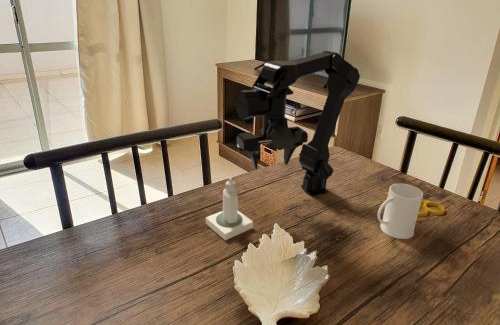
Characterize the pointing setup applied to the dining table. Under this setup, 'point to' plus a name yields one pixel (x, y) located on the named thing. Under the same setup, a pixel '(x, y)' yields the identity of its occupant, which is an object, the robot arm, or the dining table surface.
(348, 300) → the dining table surface
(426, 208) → the yellow scissors
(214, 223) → the plinth
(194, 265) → the dining table surface
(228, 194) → the eye dropper bottle
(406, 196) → the mug
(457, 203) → the dining table surface
